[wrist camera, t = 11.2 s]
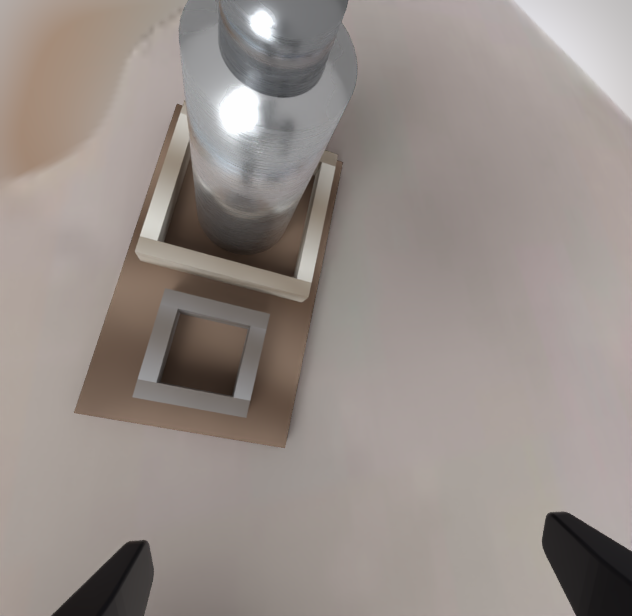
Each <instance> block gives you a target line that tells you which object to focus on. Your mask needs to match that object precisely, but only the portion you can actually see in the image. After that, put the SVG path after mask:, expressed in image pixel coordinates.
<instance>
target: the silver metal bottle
mask: <svg viewBox="0 0 632 616" xmlns="http://www.w3.org/2000/svg"><path fill="white" fill-rule="evenodd" d="M347 4H348V0H188V2H187V4H186V6H185V7H184V9H183V12H182V15H181V19H180V25H179V44H180V54H181V63H182V73H183V83H184V92H185V102H186V112H187V121H188V131H189V141H190V150H191V160H192V170H193V179H194V189H195V199H196V208H197V216H198V220H199V223H200V226H201V228H202V230H203V231H204V233H205V234H206V236H207V237H208V238H209V239H210V240H211V241H212V242H213V243H214V244H216V245H217V246H218V247H220V248H222V249H224V250H226V251H228V252H231V253H235V254H241V255H252V254H257V253H261V252H263V251H266V250H268V249H269V248H271V247H272V246H274V245H275V244H276V243H277V242H278V241H279V240H280V238H281V237H282V236H283V234H284V232H285V230H286V228H287V226H288V224H289V222H290V220H291V218H292V216H293V214H294V212H295V209H296V207H297V205H298V203H299V201H300V199H301V197H302V195H303V193H304V191H305V189H306V187H307V185H308V183H309V181H310V179H311V177H312V175H313V173H314V171H315V169H316V167H317V165H318V163H319V161H320V159H321V157H322V155H323V153H324V151H325V149H326V147H327V145H328V143H329V141H330V138H331V136H332V134H333V132H334V130H335V128H336V126H337V124H338V122H339V120H340V118H341V116H342V114H343V112H344V110H345V108H346V106H347V104H348V102H349V100H350V98H351V96H352V94H353V91H354V88H355V85H356V79H357V59H356V54H355V49H354V46H353V43H352V41H351V38H350V36H349V34H348V32H347V30H346V28H345V27H344V25H343V24H342V19H343V16H344V13H345V11H346V8H347Z"/></svg>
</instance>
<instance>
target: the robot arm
mask: <svg viewBox="0 0 632 616" xmlns="http://www.w3.org/2000/svg"><path fill="white" fill-rule="evenodd" d="M542 546H543V549H544V552H545V554H546V556H547V558H548V560H549V562H550V564H551V566H552V568H553V570H554V572H555V574H556V576H557V578H558V580H559V582H560V584H561V586H562V588H563V590H564V592H565V594H566V596H567V598H568V600H569V602H570V604H571V606H572V608H573V610H574V612H575V614H576V616H632V551H630V550H629V549H627V548H625V547H624V546H622V545H620V544H619V543H617V542H615V541H614V540H612V539H611V538H609V537H607V536H606V535H604V534H602V533H601V532H599V531H598V530H596V529H594V528H593V527H591V526H589V525H588V524H586V523H584V522H583V521H581V520H580V519H578V518H576V517H575V516H573V515H571V514H570V513H567V512H550V513H548V514H547V516H546V519H545V525H544V531H543V537H542ZM153 576H154V568H153V562H152V557H151V552H150V546H149V543H148V542H147V541H145V540H140V541H129V542H127V543H126V544H125V545H123V546H122V547H121V548H120V549H119V550H118V551H117V552H116V553H115V554H114V555H113V556H112V557H111V558H110V559H109V560H108V561H107V562H106V563H105V564H104V565H103V566H102V567H101V568H100V569H99V570H98V571H97V572H96V573H95V574H94V575H93V576H92V577H91V578H89V579H88V580H87V581H86V582H85V583H84V584H83V585H82V586H81V587H80V588H79V589H78V590H77V591H76V592H75V593H74V594H73V595H72V596H71V597H70V598H69V599H68V600H67V601H66V602H65V603H64V604H63V605H62V606H61V607H60V608H59V609H58V610H57V611H56V612H55V613H53V614H52V615H51V616H144V614H145V610H146V606H147V602H148V598H149V594H150V590H151V586H152V582H153Z"/></svg>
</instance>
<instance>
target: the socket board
mask: <svg viewBox="0 0 632 616" xmlns="http://www.w3.org/2000/svg"><path fill="white" fill-rule="evenodd" d="M337 157H338V154H335V153H332V152H329V151H326V150H325V151H324V153H323V155H322V157H321V159H320V161H319V163H318V165H317V167H316V169H315V171H314V173H313V175H312V177H311V179H310V181H309V183H308V185H307V187H306V189H305V191H304V193H303V195H302V197H301V199H300V201H299V203H298V205H297V207H296V209H295V212H294V214H293V216H292V218H291V220H290V222H289V224H288V226H287V228H286V230H285V232H284V234H283V236H282V237H281V238H280V240H279V241H278V242H277V243H276V244H275V245H274V246H272V247H271V248H269V249H268V250H266V251H263V252H261V253H257V254H252V255H241V254H235V253H231V252H228V251H226V250H224V249H222V248H220V247H218V246H217V245H216V244H214V243H213V242H212V241H211V240H210V239H209V238H208V237H207V236H206V234H205V233H204V231H203V230H202V228H201V226H200V223H199V220H198V216H197V208H196V199H195V189H194V179H193V170H192V160H191V150H190V141H189V131H188V121H187V112H186V102H185V100H184V103H183V106H182V105H179V104H177V105H176V108H175V111H174V114H173V117H172V120H171V123H170V126H169V129H168V132H167V135H166V138H165V141H164V144H163V147H162V150H161V153H160V156H159V159H158V162H157V165H156V168H155V171H154V174H153V177H152V180H151V183H150V186H149V189H148V192H147V195H146V198H145V201H144V204H143V207H142V210H141V213H140V216H139V219H138V222H137V225H136V228H135V231H134V234H133V237H132V240H131V243H130V246H129V249H128V252H127V255H126V258H125V261H124V264H123V267H122V270H121V273H120V276H119V279H118V282H117V285H116V288H115V291H114V294H113V297H112V300H111V303H110V306H109V309H108V312H107V315H106V318H105V321H104V324H103V327H102V330H101V333H100V336H99V339H98V342H97V345H96V348H95V351H94V354H93V357H92V360H91V363H90V366H89V369H88V372H87V375H86V378H85V381H84V384H83V387H82V390H81V393H80V396H79V399H78V402H77V405H76V408H75V411H74V413H77V414H83V415H89V416H95V417H101V418H107V419H113V420H119V421H125V422H131V423H137V424H143V425H149V426H155V427H161V428H167V429H173V430H179V431H185V432H191V433H197V434H203V435H209V436H215V437H221V438H227V439H233V440H239V441H245V442H251V443H257V444H263V445H269V446H275V447H281V448H285V445H286V440H287V435H288V430H289V425H290V421H291V416H292V411H293V406H294V401H295V396H296V391H297V386H298V381H299V376H300V371H301V366H302V361H303V356H304V352H305V347H306V342H307V337H308V332H309V327H310V322H311V317H312V312H313V307H314V302H315V297H316V292H317V287H318V282H319V278H320V273H321V268H322V263H323V258H324V253H325V248H326V243H327V238H328V233H329V228H330V223H331V218H332V213H333V208H334V204H335V199H336V194H337V189H338V184H339V179H340V174H341V169H342V164H343V162H341V161H338V160H337Z"/></svg>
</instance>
